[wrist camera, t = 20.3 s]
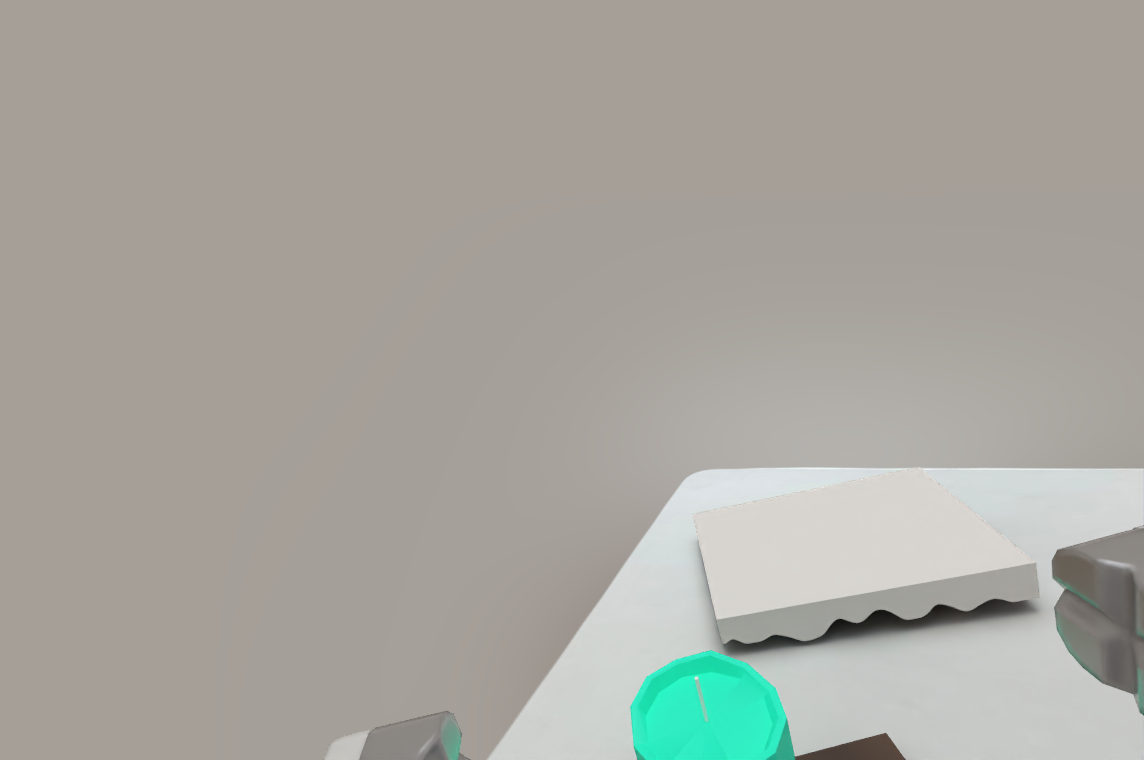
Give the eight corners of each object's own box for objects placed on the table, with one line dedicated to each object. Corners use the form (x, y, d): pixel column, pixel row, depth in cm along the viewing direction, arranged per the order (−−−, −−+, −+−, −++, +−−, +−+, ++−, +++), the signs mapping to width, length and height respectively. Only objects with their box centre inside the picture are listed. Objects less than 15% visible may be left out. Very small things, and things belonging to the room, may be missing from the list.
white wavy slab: (727, 660, 40) (1040, 608, 37) (716, 619, 39) (1035, 562, 36) (700, 545, 54) (924, 501, 51) (692, 514, 54) (918, 466, 50)
